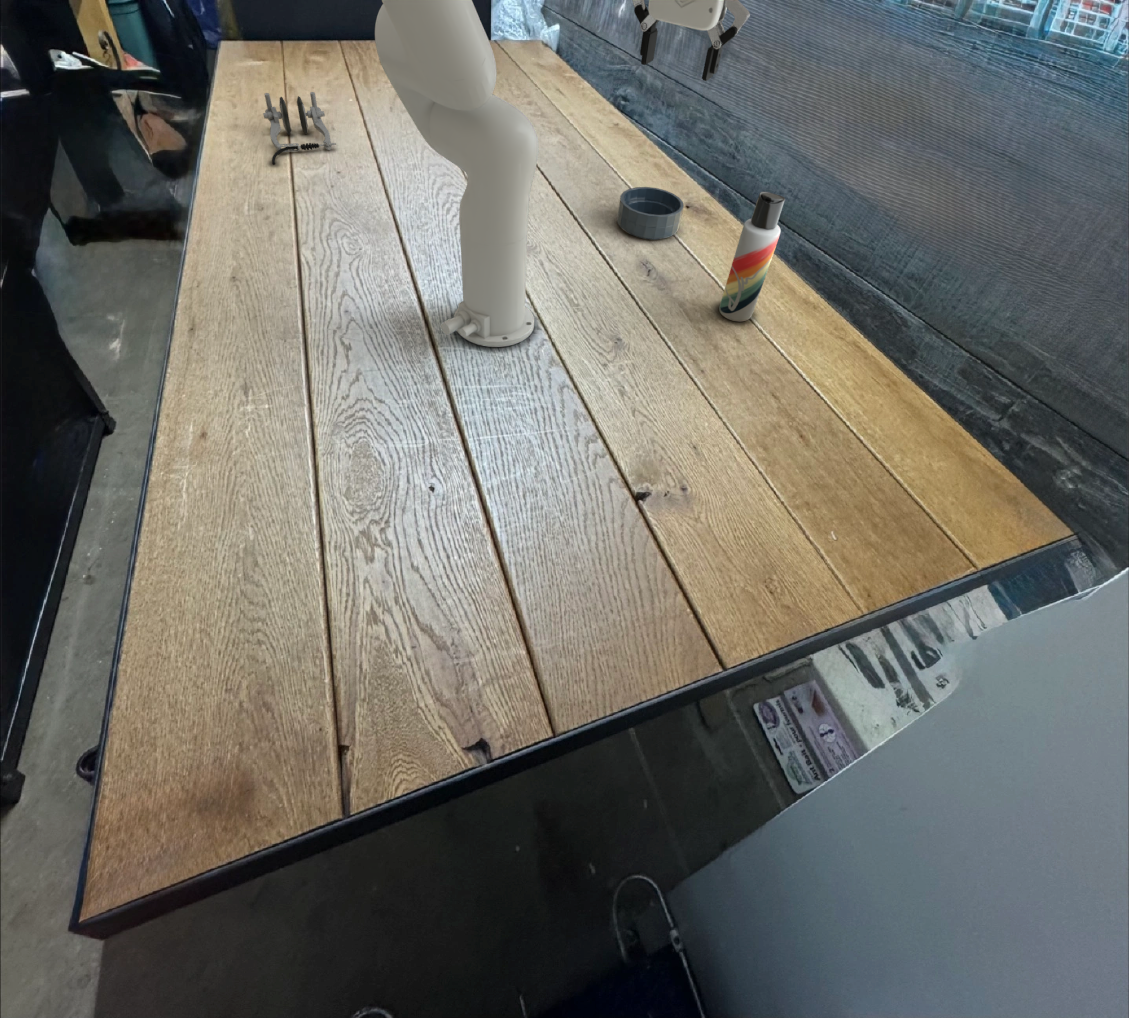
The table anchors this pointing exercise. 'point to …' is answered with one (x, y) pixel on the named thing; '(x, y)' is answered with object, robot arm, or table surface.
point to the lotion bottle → (752, 258)
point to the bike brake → (275, 127)
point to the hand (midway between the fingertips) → (676, 70)
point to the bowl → (649, 212)
